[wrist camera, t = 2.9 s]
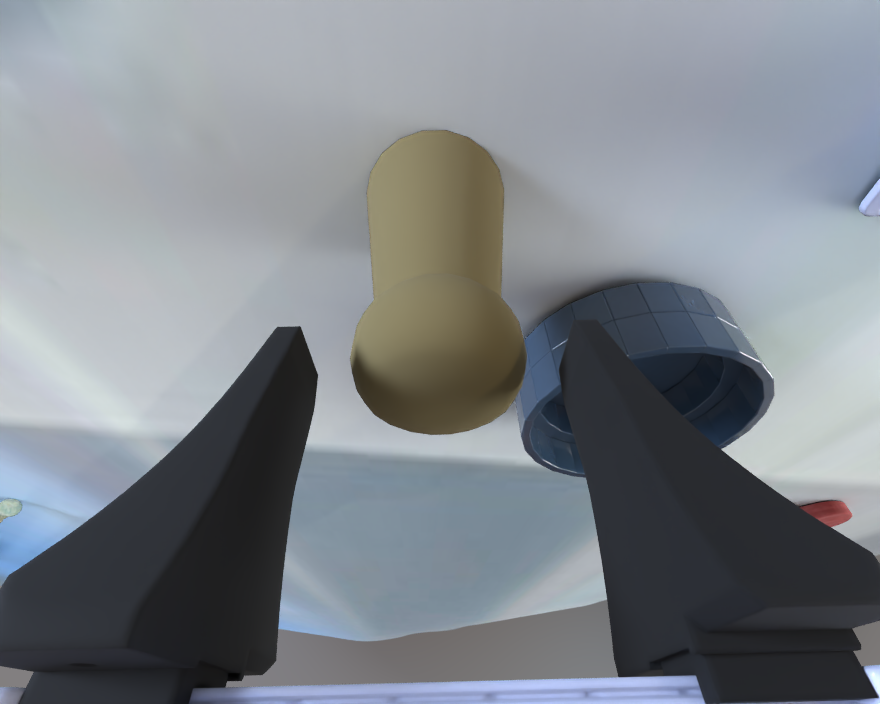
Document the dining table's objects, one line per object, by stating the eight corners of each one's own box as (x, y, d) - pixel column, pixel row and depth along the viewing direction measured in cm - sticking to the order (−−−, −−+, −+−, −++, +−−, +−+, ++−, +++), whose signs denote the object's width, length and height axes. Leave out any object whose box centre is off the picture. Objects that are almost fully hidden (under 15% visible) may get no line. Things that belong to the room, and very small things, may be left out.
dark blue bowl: (774, 272, 23) (834, 342, 19) (677, 413, 32) (706, 476, 29) (524, 278, 23) (541, 350, 19) (502, 417, 32) (511, 480, 29)
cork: (520, 141, 17) (587, 342, 10) (486, 263, 22) (516, 464, 15) (368, 119, 17) (320, 317, 9) (365, 250, 21) (331, 455, 14)
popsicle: (695, 548, 50) (852, 511, 43) (689, 533, 51) (840, 494, 44) (707, 557, 53) (856, 523, 46) (701, 542, 54) (845, 507, 47)
